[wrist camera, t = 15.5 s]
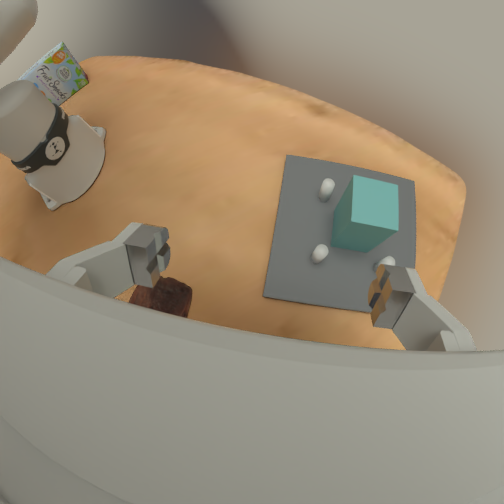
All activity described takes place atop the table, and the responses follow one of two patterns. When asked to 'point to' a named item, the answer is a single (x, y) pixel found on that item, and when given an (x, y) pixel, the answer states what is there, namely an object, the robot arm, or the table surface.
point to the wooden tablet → (164, 297)
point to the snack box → (57, 75)
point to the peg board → (320, 234)
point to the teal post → (365, 214)
